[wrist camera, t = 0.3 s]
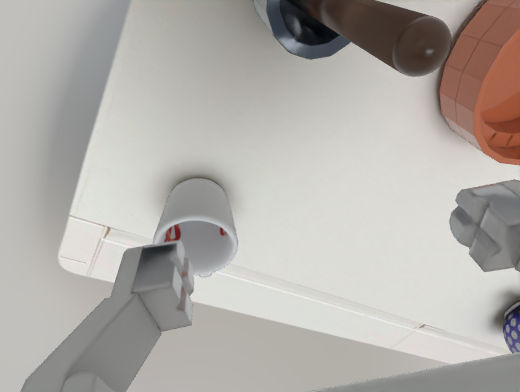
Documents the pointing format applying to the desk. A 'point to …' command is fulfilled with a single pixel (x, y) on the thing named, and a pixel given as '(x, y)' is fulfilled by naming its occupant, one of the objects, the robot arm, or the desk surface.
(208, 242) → the cup
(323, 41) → the crock
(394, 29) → the stick
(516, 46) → the bowl
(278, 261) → the desk surface
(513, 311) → the teapot
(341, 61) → the desk surface
